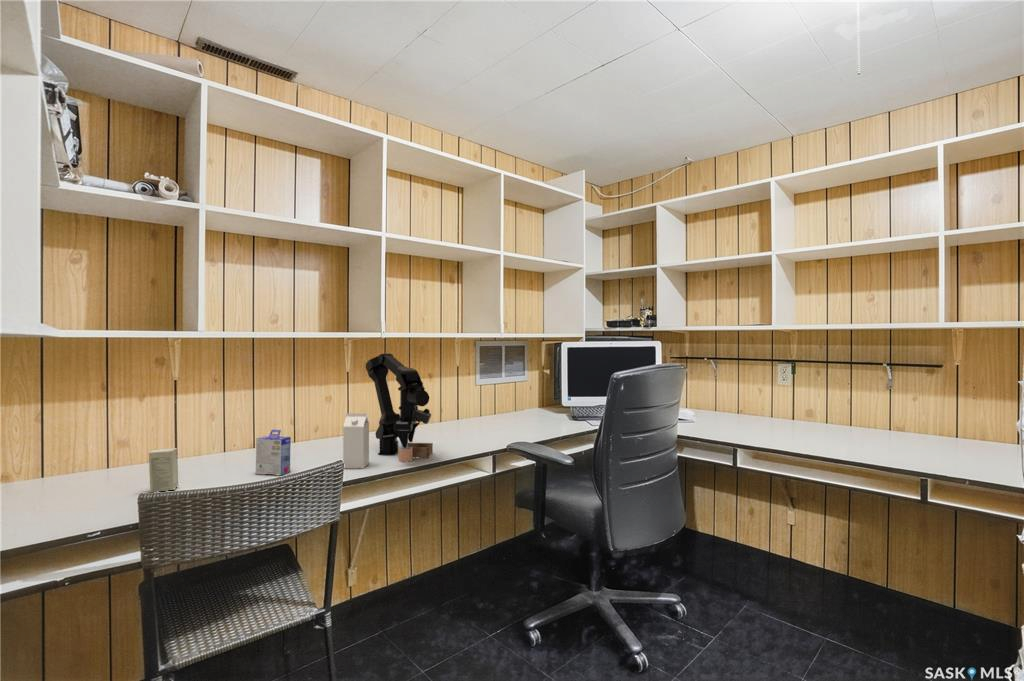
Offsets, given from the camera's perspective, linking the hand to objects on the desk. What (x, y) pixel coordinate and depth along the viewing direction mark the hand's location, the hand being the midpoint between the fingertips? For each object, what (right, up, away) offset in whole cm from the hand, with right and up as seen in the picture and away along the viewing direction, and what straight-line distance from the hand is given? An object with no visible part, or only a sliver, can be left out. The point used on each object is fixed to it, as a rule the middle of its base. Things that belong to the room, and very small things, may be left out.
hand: (407, 444), depth 187 cm
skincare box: (-66, -6, -37) cm, 76 cm away
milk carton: (-17, -6, -9) cm, 20 cm away
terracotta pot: (-1, -6, 0) cm, 6 cm away
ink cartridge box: (-42, -6, -18) cm, 46 cm away
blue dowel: (-1, -6, 0) cm, 6 cm away
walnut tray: (+2, -6, +8) cm, 10 cm away
